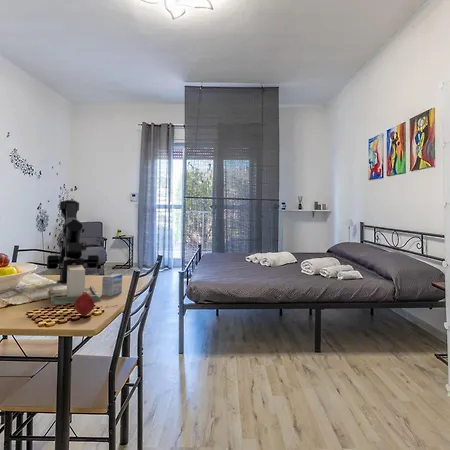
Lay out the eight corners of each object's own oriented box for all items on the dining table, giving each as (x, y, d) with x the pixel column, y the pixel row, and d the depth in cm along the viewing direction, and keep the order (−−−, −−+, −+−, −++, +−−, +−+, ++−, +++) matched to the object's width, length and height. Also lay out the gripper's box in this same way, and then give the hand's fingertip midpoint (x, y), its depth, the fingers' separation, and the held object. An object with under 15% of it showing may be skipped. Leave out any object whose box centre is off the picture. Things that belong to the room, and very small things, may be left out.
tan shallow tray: (49, 293, 139) (49, 285, 139) (92, 291, 146) (92, 283, 146) (50, 308, 118) (51, 298, 118) (100, 305, 126) (101, 295, 126)
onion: (77, 313, 115) (78, 289, 114) (95, 313, 115) (96, 289, 115) (71, 318, 109) (72, 292, 109) (90, 318, 109) (91, 293, 109)
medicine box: (111, 299, 135) (112, 277, 134) (101, 298, 135) (102, 276, 135) (121, 295, 142) (122, 274, 142) (111, 294, 143) (112, 273, 143)
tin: (66, 294, 133) (67, 265, 133) (80, 293, 135) (81, 265, 135) (68, 301, 122) (69, 270, 122) (84, 300, 125) (85, 269, 124)
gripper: (48, 234, 134) (47, 267, 125) (99, 235, 143) (102, 266, 133) (47, 252, 141) (46, 284, 132) (95, 252, 150) (98, 282, 141)
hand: (74, 279), depth 134 cm, fingers closed, pressing on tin
